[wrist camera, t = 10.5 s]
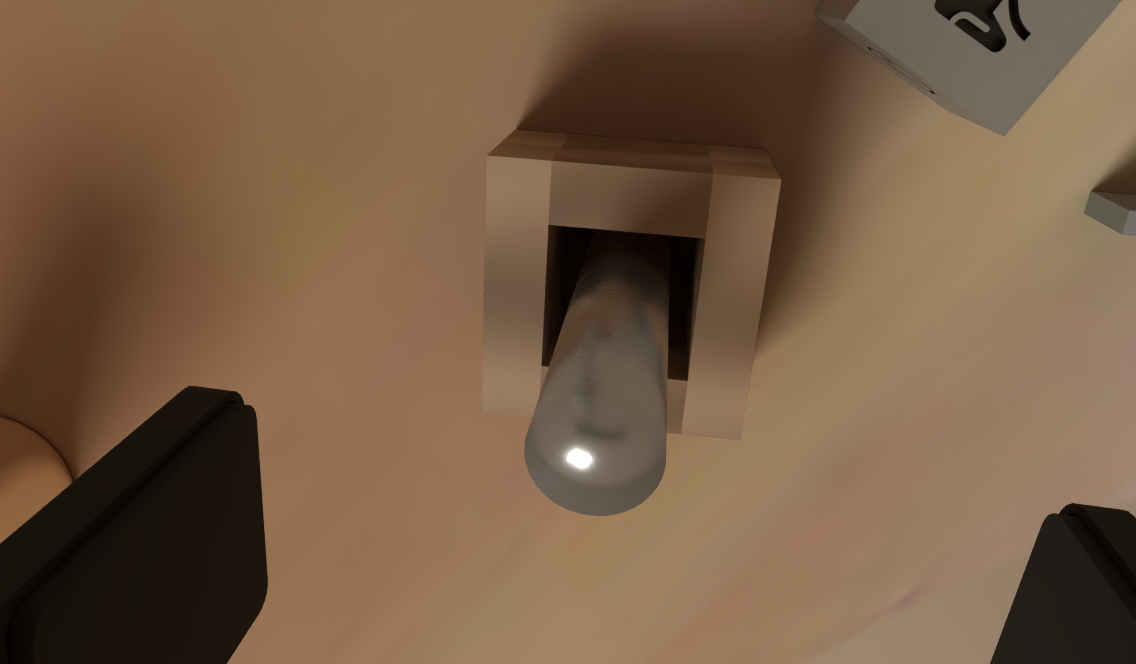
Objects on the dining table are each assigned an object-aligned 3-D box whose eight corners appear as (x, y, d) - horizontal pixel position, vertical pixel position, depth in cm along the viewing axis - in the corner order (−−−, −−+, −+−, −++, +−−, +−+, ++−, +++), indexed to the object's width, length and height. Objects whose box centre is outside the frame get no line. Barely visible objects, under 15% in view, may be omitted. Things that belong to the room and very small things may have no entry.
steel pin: (589, 214, 28) (527, 384, 16) (673, 221, 28) (673, 400, 16) (584, 293, 29) (521, 507, 17) (665, 300, 29) (658, 523, 17)
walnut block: (515, 129, 27) (486, 155, 23) (764, 149, 27) (781, 179, 23) (507, 354, 30) (481, 412, 26) (731, 376, 30) (740, 440, 26)
